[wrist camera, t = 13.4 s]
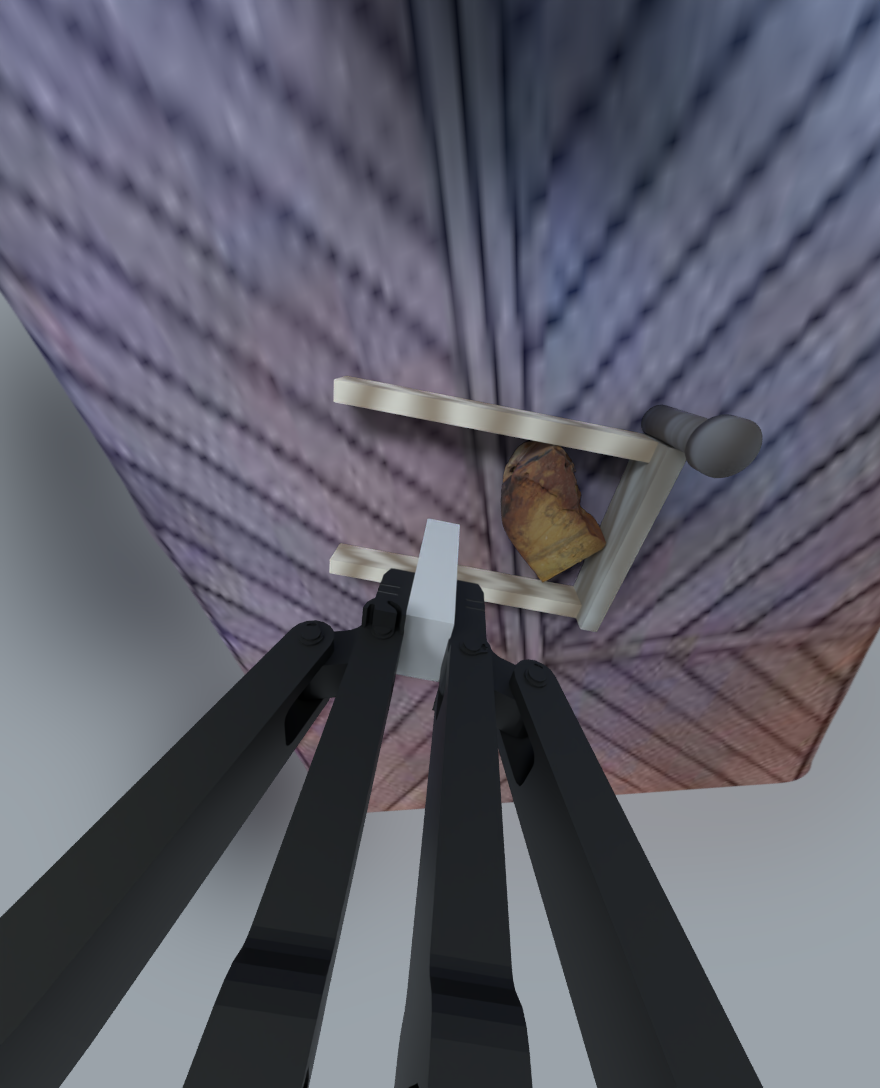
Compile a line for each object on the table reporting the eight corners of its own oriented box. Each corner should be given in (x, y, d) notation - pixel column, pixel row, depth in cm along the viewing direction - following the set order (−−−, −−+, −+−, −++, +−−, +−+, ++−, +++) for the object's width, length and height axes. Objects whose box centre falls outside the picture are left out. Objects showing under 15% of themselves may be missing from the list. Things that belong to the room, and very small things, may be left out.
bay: (339, 556, 48) (304, 613, 37) (348, 334, 35) (299, 330, 25) (591, 602, 48) (623, 670, 38) (688, 401, 36) (775, 424, 26)
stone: (601, 540, 44) (616, 562, 39) (530, 568, 47) (536, 592, 42) (555, 429, 38) (567, 440, 34) (477, 469, 41) (478, 484, 36)
